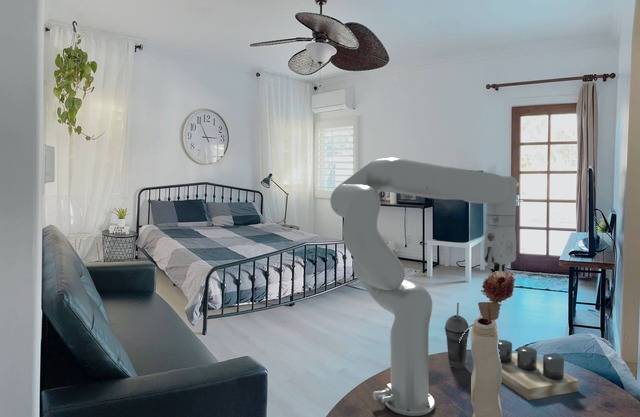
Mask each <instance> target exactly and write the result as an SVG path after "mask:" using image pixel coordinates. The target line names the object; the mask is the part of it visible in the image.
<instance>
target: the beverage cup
mask: <svg viewBox="0 0 640 417" xmlns="http://www.w3.org/2000/svg"><path fill="white" fill-rule="evenodd" d="M459 307H460V303H459V302H456V315H452V316H450V317H448V318H447V320H446V322H445V326H444V331H445V335H446V344H447V345H446V348H447V357H448V366H449V365H450V366H452V367H454V368H453V369H456V368H461V369H464V368H465V364H466V356H467V346H468V338H469V335H470V328H469V329H468V330H467V331H466V332H465V334H464V335H463V337H462V339H461V341H460V343H459V339H460V337H461V336H462V334H463V333H464V331H465V330H466V329H467V328H468V327H469V323H468V321H467V319H465V318H464V317H463V316H461V315H459V314H460V313H459V310H460V308H459ZM450 366H449V367H450ZM452 367H451V368H452ZM463 367H464V368H463Z"/></svg>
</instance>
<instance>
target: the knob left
mask: <svg viewBox="0 0 640 417" xmlns="http://www.w3.org/2000/svg"><path fill="white" fill-rule="evenodd" d="M498 340H499V343H498V349H499V350H500V352H499V354H500V359H501V362H502V363H509V362H511V361H512V354H513V343H512V342H511V341H508V340H505V339H498Z"/></svg>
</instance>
